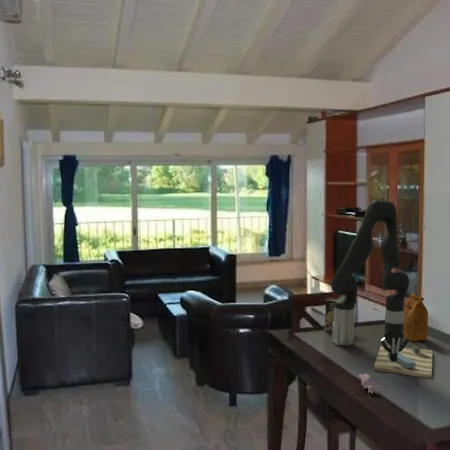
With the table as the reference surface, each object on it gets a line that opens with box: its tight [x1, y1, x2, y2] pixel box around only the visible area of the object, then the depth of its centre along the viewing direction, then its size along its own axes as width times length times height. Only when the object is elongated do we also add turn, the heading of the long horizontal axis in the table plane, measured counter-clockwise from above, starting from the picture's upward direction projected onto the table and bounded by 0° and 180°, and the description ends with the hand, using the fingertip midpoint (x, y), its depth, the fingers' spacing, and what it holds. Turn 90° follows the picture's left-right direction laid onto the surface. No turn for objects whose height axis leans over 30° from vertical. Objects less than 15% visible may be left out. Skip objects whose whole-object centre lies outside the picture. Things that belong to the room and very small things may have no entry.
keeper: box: [410, 341, 427, 353], centre depth 240 cm, size 4×6×4 cm, turn 12°
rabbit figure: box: [358, 373, 380, 395], centre depth 205 cm, size 6×6×15 cm
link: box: [387, 352, 416, 368], centre depth 230 cm, size 16×5×2 cm, turn 12°
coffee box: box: [324, 297, 338, 333], centre depth 279 cm, size 9×6×16 cm
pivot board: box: [373, 344, 434, 379], centre depth 234 cm, size 30×22×6 cm
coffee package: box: [403, 292, 429, 342], centre depth 265 cm, size 10×12×22 cm
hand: (393, 361), depth 225 cm, fingers closed
